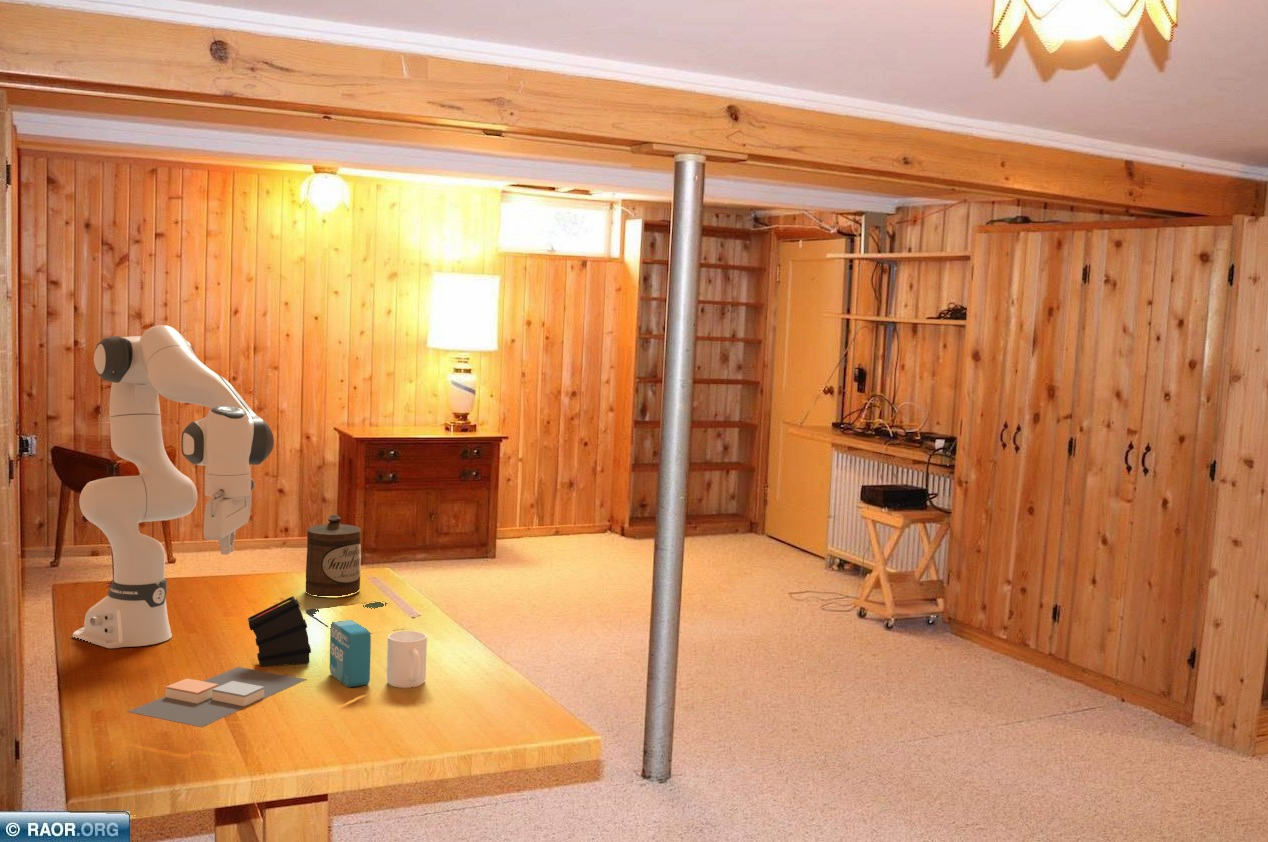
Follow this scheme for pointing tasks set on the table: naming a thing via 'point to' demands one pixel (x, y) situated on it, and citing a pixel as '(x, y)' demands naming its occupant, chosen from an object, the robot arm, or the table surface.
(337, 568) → the wooden container
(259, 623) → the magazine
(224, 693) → the light grey flat block
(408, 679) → the mug
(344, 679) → the data package
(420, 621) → the table surface
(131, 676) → the table surface
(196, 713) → the mat
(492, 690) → the table surface
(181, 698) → the peach flat block
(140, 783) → the table surface
